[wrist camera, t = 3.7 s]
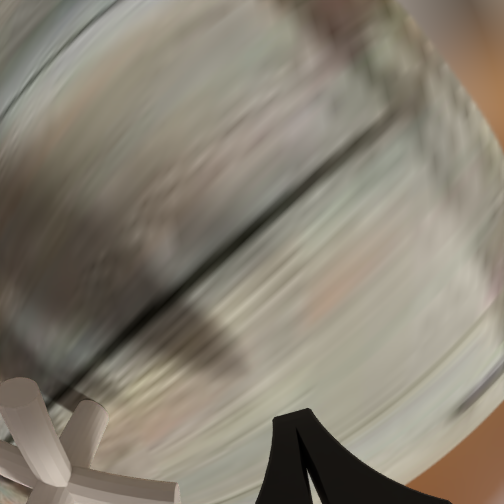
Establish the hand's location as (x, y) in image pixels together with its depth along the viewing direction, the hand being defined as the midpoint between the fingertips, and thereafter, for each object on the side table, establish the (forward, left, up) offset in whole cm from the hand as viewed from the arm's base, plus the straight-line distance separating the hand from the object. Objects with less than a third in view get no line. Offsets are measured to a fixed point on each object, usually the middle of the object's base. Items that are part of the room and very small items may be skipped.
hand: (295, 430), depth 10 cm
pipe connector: (0, +10, -4) cm, 11 cm away
